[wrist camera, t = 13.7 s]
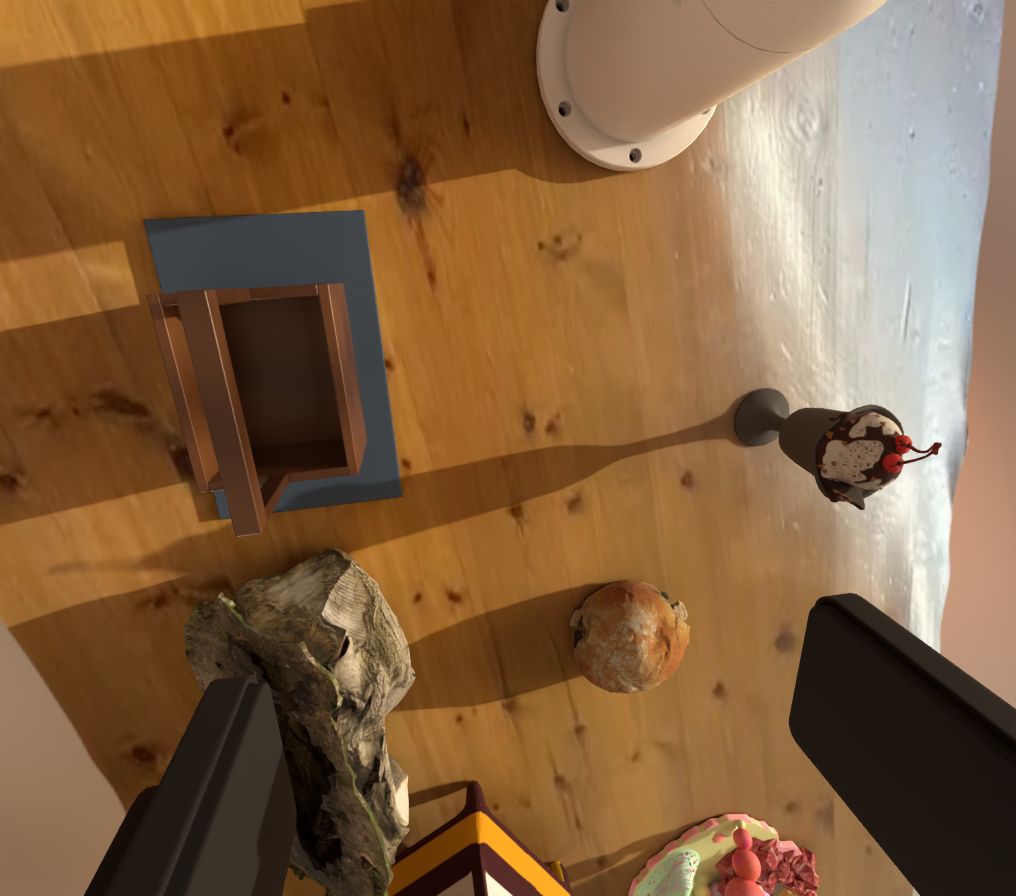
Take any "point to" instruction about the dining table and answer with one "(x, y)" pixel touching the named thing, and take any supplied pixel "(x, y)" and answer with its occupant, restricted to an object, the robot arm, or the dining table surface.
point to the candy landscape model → (729, 863)
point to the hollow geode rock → (322, 707)
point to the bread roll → (629, 637)
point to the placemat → (288, 262)
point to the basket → (262, 390)
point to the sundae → (831, 443)
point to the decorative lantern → (474, 860)
